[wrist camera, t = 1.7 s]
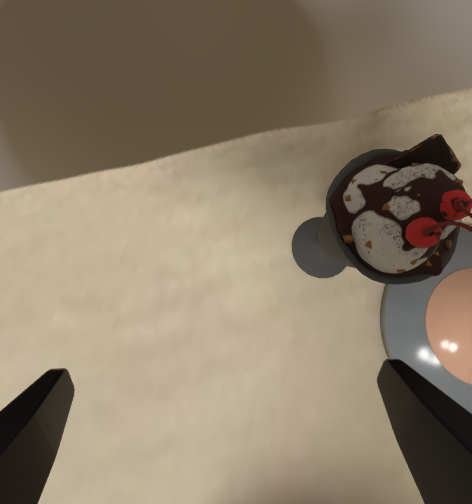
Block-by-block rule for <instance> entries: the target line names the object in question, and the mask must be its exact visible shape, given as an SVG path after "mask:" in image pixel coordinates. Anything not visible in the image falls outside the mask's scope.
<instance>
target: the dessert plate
mask: <svg viewBox="0 0 472 504" xmlns="http://www.w3.org/2000/svg"><path fill="white" fill-rule="evenodd" d="M380 326H381V334H382V340H383V344H384V347H385V351H386V354H387V356H388V359H400V360H402V361H403V362H405V363H406V364H407V365H409V366H410V367H411V368H413V369H414V370H415V371H417V372H418V373H419V374H420V375H422V376H423V377H424V378H426V379H427V380H428V381H430V382H431V383H432V384H434V385H435V386H436V387H437V388H439V389H440V390H441V391H443V392H444V393H445V394H447V395H448V396H449V397H451V398H452V399H453V400H454V401H456V402H457V403H458V404H460V405H461V406H462V407H464V408H465V409H466V410H468V411H469V412H470V413H471V414H472V232H471V231H465V232H459V235H458V240H457V244H456V248H455V252H454V254H453V256H452V258H451V260H450V261H449V263H448V264H447V265H446V267H445V268H444V269H443V271H442V273H441V274H440V275H438V276H432V277H430V278H428V279H426V280H423V281H421V282H415V283H409V284H398V285H393V284H386V286H385V289H384V293H383V297H382V302H381V310H380Z"/></svg>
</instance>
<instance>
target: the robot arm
mask: <svg viewBox="0 0 472 504" xmlns="http://www.w3.org/2000/svg"><path fill="white" fill-rule="evenodd" d="M377 383H378V387H379V390H380V393H381V396H382V399H383V402H384V405H385V408H386V411H387V414H388V417H389V420H390V423H391V426H392V429H393V431H394V434H395V437H396V440H397V442H398V444H399V447H400V449H401V451H402V454H403V456H404V458H405V460H406V463H407V465H408V467H409V469H410V472H411V474H412V476H413V478H414V481H415V483H416V485H417V487H418V489H419V492H420V494H421V496H422V498H423V501H424V503H425V504H472V414H471V413H470V412H469V411H468V410H466V409H465V408H464V407H462V406H461V405H460V404H458V403H457V402H456V401H454V400H453V399H452V398H451V397H449V396H448V395H447V394H445V393H444V392H443V391H441V390H440V389H439V388H437V387H436V386H435V385H434V384H432V383H431V382H430V381H428V380H427V379H426V378H424V377H423V376H422V375H420V374H419V373H418V372H417V371H415V370H414V369H413V368H411V367H410V366H409V365H407V364H406V363H405V362H403V361H402V360H400V359H386V360H385V361H384V362H383V364H382V367H381V369H380V372H379V374H378V377H377ZM73 397H74V385H73V382H72V380H71V377H70V375H69V372H68V370H67V369H65V368H60V369H50V370H48V371H47V372H46V373H44V374H43V375H42V376H41V377H40V378H39V379H37V380H36V381H35V382H34V383H33V384H31V385H30V386H29V387H28V388H27V389H26V390H24V391H23V392H22V393H21V394H20V395H19V396H17V397H16V398H15V399H14V400H13V401H12V402H10V403H9V404H8V405H7V406H6V407H5V408H3V409H2V410H1V411H0V504H38V501H39V499H40V496H41V494H42V491H43V489H44V486H45V484H46V481H47V479H48V476H49V474H50V471H51V469H52V466H53V463H54V461H55V458H56V455H57V452H58V449H59V446H60V442H61V439H62V435H63V432H64V428H65V425H66V421H67V418H68V414H69V411H70V407H71V404H72V401H73Z"/></svg>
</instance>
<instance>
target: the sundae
mask: <svg viewBox="0 0 472 504" xmlns="http://www.w3.org/2000/svg"><path fill="white" fill-rule="evenodd" d="M460 167H461V164H460V162H459V161H458V159H457V158H456V156H455V154H454V152H453V151H452V149H451V148H450V147H449V146H448V144H447V143H446V141H445V140H444V138H443V136H442V135H440V134H435V135H433V136H431V137H429V138H428V139H426V140H424V141H423V142H421V143H419V144H418V145H416V146H414V147H413V148H411V149H410V150H405V151H403V152H400V151H397V150H392V149H377V150H372V151H369V152H366V153H364V154H362V155H360V156H358V157H356V158H355V159H353V160H351V161H350V162H349V163H348V164H347V165H346V166H345V167H344V168H343V169H342V170H341V171H340V172H339V174H338V175H337V176H336V177H335V178H334V180H333V182H332V184H331V186H330V188H329V190H328V193H327V197H326V213H325V215H324V217H323V218H316V219H311V220H309V221H307V222H305V223H303V224H302V225H301V226H300V227H299V228H298V229H297V231H296V232H295V234H294V237H293V241H292V252H293V256H294V259H295V261H296V262H297V264H298V266H299V267H300V268H301V269H302V270H303V271H305V272H306V273H307V274H309V275H311V276H314V277H318V278H328V277H333V276H335V275H337V274H339V273H340V272H342V271H343V270H344V268H345V267H346V266H349V267H354V268H357V269H358V270H359V271H360V272H361V273H362V274H363V275H365V276H367V277H368V278H370V279H371V280H374V281H377V282H380V283H385V284H393V285H398V284H409V283H415V282H421V281H423V280H426V279H428V278H430V277H432V276H438V275H440V274H441V273H442V271H443V269H444V268H445V267H446V265H447V264H448V263H449V261H450V260H451V258H452V256H453V254H454V252H455V248H456V244H457V240H458V235H459V230H460V226H461V227H463V228H466V229H467V230H469V231H471V232H472V227H470V226H468V225H466V224H464V223H461V219H462V218H464V217H466V216H467V215H468V216H469V217H471V218H472V213H470V212H471V208H472V199H471V198H470V196H469V195H468V194H467V193H466V192H465V189H464V187H463V185H462V183H463V181H462V180H459V179H458V178H457V177H456V176H454V174H455V173H456V172H457V171H458V170H459V168H460Z"/></svg>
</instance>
